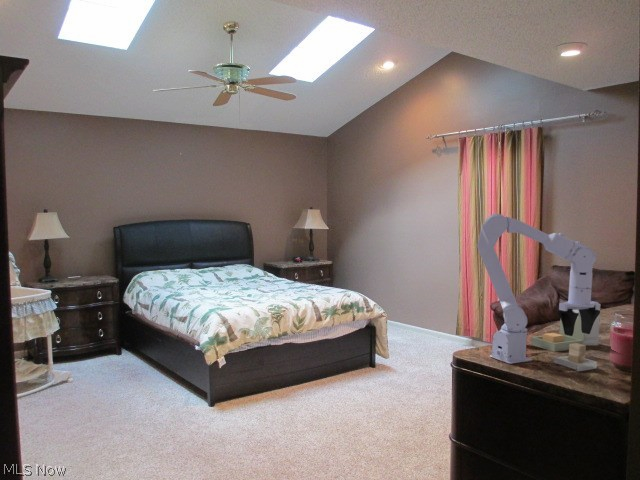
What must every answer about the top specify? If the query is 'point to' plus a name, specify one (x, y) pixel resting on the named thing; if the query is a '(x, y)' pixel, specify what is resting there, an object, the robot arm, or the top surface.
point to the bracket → (576, 366)
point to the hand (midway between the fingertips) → (577, 334)
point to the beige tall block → (577, 352)
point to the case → (564, 345)
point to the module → (553, 337)
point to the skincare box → (592, 331)
